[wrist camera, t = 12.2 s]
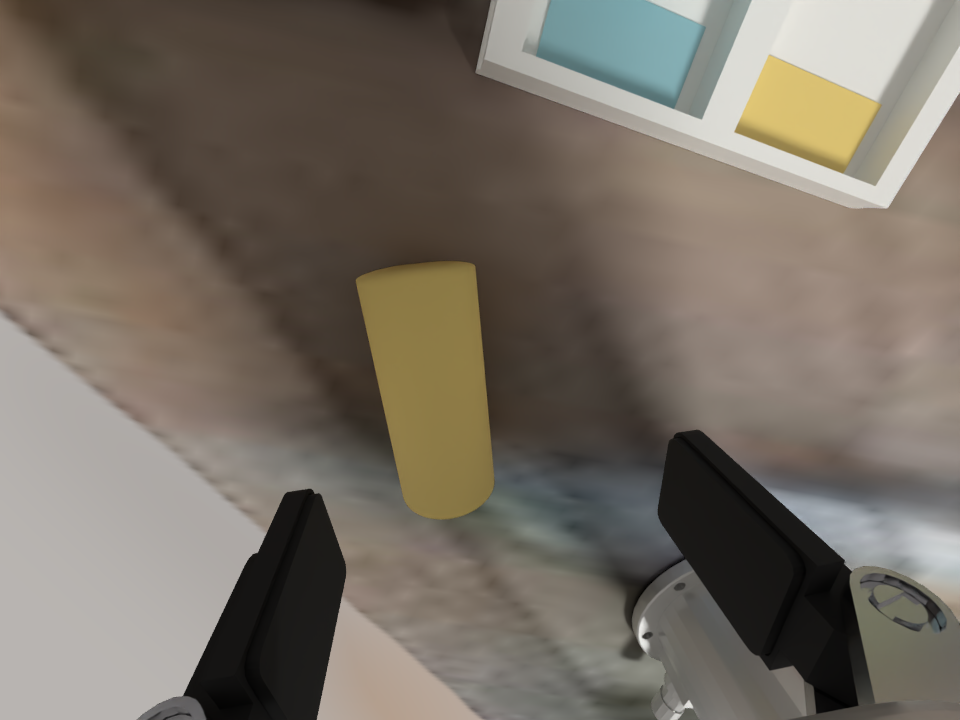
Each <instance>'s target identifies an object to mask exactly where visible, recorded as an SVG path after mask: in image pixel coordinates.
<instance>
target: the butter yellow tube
mask: <svg viewBox="0 0 960 720" xmlns="http://www.w3.org/2000/svg"><path fill="white" fill-rule="evenodd" d="M356 285H357V289H358V294H359V298H360V303H361V308H362V312H363V317H364V321H365V326H366V330H367V335H368V339H369V344H370V348H371V353H372V357H373V362H374V367H375V371H376V376H377V380H378V385H379V389H380V394H381V398H382V403H383V407H384V412H385V416H386V421H387V425H388V430H389V435H390V439H391V444H392V448H393V453H394V457H395V462H396V466H397V471H398V475H399V480H400V484H401V489H402V494H403V498H404V501H405V503H406V504H407V506H408V507H409V508H410V509H411V510H412V511H413V512H415V513H417V514H418V515H421V516H423V517H427V518H431V519H451V518H456V517H460V516H463V515H466V514H468V513H470V512H472V511H474V510H476V509H477V508H478V507H480V506H481V505H482V504H483V503H484V502H485V501H486V500H487V499H488V498H489V496H490V495H491V493H492V491H493V488H494V470H493V458H492V447H491V436H490V425H489V414H488V403H487V391H486V380H485V369H484V358H483V347H482V336H481V324H480V313H479V302H478V291H477V280H476V268H475V265H473V264H471V263H467V262H460V261H434V262H425V263H415V264H405V265H398V266H392V267H388V268H383V269H379V270H375V271H372V272H369V273H366V274H364V275H361V276H360V277H358V278H357V279H356Z"/></svg>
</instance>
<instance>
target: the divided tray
mask: <svg viewBox="0 0 960 720" xmlns="http://www.w3.org/2000/svg"><path fill="white" fill-rule="evenodd" d="M475 73H477V74H479V75H482V76H485V77H488V78H491V79H493V80H496V81H499V82H502V83H504V84H507V85H510V86H513V87H515V88H518V89H521V90H524V91H527V92H529V93H532V94H535V95H538V96H540V97H543V98H546V99H549V100H552V101H554V102H557V103H560V104H563V105H565V106H568V107H571V108H574V109H576V110H579V111H582V112H585V113H588V114H590V115H593V116H596V117H599V118H601V119H604V120H607V121H610V122H612V123H615V124H618V125H621V126H624V127H626V128H629V129H632V130H635V131H637V132H640V133H643V134H646V135H649V136H651V137H654V138H657V139H660V140H662V141H665V142H668V143H671V144H673V145H676V146H679V147H682V148H685V149H687V150H690V151H693V152H696V153H698V154H701V155H704V156H707V157H709V158H712V159H715V160H718V161H721V162H723V163H726V164H729V165H732V166H734V167H737V168H740V169H743V170H746V171H748V172H751V173H754V174H757V175H759V176H762V177H765V178H768V179H770V180H773V181H776V182H779V183H782V184H784V185H787V186H790V187H793V188H795V189H798V190H801V191H804V192H806V193H809V194H812V195H815V196H818V197H820V198H823V199H826V200H829V201H831V202H834V203H837V204H840V205H843V206H845V207H848V208H888V207H889V205H890V203H891V202H892V200H893V199H894V197H895V195H896V194H897V192H898V190H899V189H900V187H901V186H902V184H903V182H904V181H905V179H906V178H907V176H908V174H909V173H910V171H911V170H912V168H913V166H914V165H915V163H916V162H917V160H918V158H919V157H920V155H921V153H922V152H923V150H924V149H925V147H926V145H927V144H928V142H929V141H930V139H931V137H932V136H933V134H934V133H935V131H936V129H937V128H938V126H939V125H940V123H941V121H942V120H943V118H944V117H945V115H946V113H947V112H948V110H949V108H950V107H951V105H952V104H953V102H954V100H955V99H956V97H957V96H958V94H959V92H960V0H491V3H490V7H489V12H488V17H487V21H486V26H485V30H484V35H483V40H482V44H481V49H480V53H479V58H478V63H477V67H476V72H475Z"/></svg>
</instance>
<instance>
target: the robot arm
mask: <svg viewBox="0 0 960 720" xmlns="http://www.w3.org/2000/svg"><path fill="white" fill-rule="evenodd" d="M658 516H659V519H660V522H661V524H662V525H663V527H664V528H665V529H666V531H667V532H668V534H669V535H670V537H671V538H672V540H673V541H674V543H675V544H676V545H677V547H678V548H679V550H680V551H681V553H682V554H683V556H684V557H685V558H686V559H685V560H683V561H682V562H680V563H678V564H676V565H674V566H673V567H671V568H669V569H668V570H667V571H665V572H664V573H663V574H661V575H660V576H659V577H657V578H656V579H655V580H654V581H653V582H652V583H651V584H650V585H649V586H648V587H647V588H646V590H645V591H644V592H643V594H642V595H641V596H640V598H639V600H638V602H637V604H636V606H635V608H634V611H633V616H632V628H633V631H634V633H635V636H636V638H637V640H638V643H639V645H640V646H641V648H642V649H643V651H644V652H645V653H647V654H648V655H649V656H650V657H652V658H654V659H656V660H659V661H661V662H662V663H663V665H664V667H665V670H666V673H665V677H664V681H665V685H663V686H662V687H661V688H660V689H659V691H658V692H657V694H656V695H655V696H654V698H653V699H652V701H651V708H652V711H653V713H654V715H655V716H656V718H657V719H658V720H678V719H679V717H680V716H681V715H682V714H683V712H684V709H685V708H692V709H693V710H695V712H696V714H697V716H698V718H699V720H960V623H959V622H958V620H957V619H956V617H955V616H954V614H953V612H952V611H951V609H950V608H949V607H948V606H947V605H946V604H945V603H944V602H943V601H942V600H941V599H940V598H939V597H938V596H936V595H935V594H934V593H932V592H931V591H930V590H928V589H927V588H926V587H924V586H923V585H921V584H919V583H917V582H916V581H914V580H912V579H910V578H909V577H907V576H904V575H902V574H899V573H897V572H894V571H892V570H888V569H884V568H880V567H873V566H863V567H860V568H856V569H854V571H853V572H852V571H851V570H850V569H849V568H848V567H847V566H846V565H844V562H845V560H844V559H843V558H841V557H840V556H839V555H838V554H837V553H836V552H835V551H834V550H833V549H832V548H830V547H829V546H828V545H827V544H826V543H825V542H824V541H823V540H822V539H820V538H819V537H818V536H817V535H816V534H815V533H814V532H813V531H812V530H810V529H809V528H808V527H807V526H806V525H805V524H804V523H803V522H802V521H800V520H799V519H798V518H797V517H796V516H795V515H794V514H793V513H792V512H791V511H789V510H788V509H787V508H786V507H785V506H784V505H783V504H782V503H781V502H779V501H778V500H777V499H776V498H775V497H774V496H773V495H772V494H771V493H769V492H768V491H767V490H766V489H765V488H764V487H763V486H762V485H761V484H759V483H758V482H757V481H756V480H755V479H754V478H753V477H752V476H751V475H750V474H748V473H747V472H746V471H745V470H744V469H743V468H742V467H741V466H740V465H738V464H737V463H736V462H735V461H734V460H733V459H732V458H731V457H730V456H728V455H727V454H726V453H725V452H724V451H723V450H722V449H721V448H720V447H718V446H717V445H716V444H715V443H714V442H713V441H712V440H711V439H710V438H709V437H707V436H706V435H705V434H704V433H703V432H701V431H700V430H693V431H686V432H679V433H676V434H675V435H674V438H673V439H671V440H670V441H669V444H668V450H667V456H666V462H665V468H664V474H663V480H662V486H661V492H660V498H659V504H658ZM345 578H346V564H345V561H344V558H343V555H342V552H341V549H340V547H339V544H338V541H337V538H336V535H335V532H334V530H333V527H332V524H331V521H330V518H329V516H328V513H327V510H326V507H325V504H324V501H323V499H322V496H321V494H319V493H318V494H314V492H313V490H312V489H305V490H299V491H292V492H287V493H286V494H285V495H284V497H283V499H282V501H281V503H280V505H279V508H278V510H277V512H276V514H275V516H274V519H273V521H272V523H271V525H270V527H269V530H268V532H267V534H266V536H265V538H264V541H263V543H262V545H261V547H260V549H259V552H258V553H255V554H253V555H252V556H251V557H250V558H249V560H248V561H247V563H246V565H245V566H244V569H243V571H242V573H241V575H240V577H239V579H238V581H237V583H236V585H235V588H234V589H233V592H232V594H231V596H230V598H229V600H228V602H227V604H226V606H225V609H224V611H223V613H222V615H221V617H220V619H219V621H218V623H217V625H216V627H215V630H214V632H213V634H212V636H211V638H210V640H209V642H208V644H207V646H206V649H205V651H204V653H203V655H202V657H201V659H200V661H199V663H198V666H197V668H196V670H195V672H194V674H193V676H192V678H191V680H190V682H189V684H188V686H187V689H186V691H185V693H184V695H183V696H182V697H173V698H171V699H169V700H166V701H164V702H162V703H159V704H157V705H156V706H155V707H153V708H151V709H150V710H148V711H147V712H145V713H144V714H142V715H141V716H140V717H139V718H138V719H137V720H317V715H318V711H319V705H320V701H321V696H322V691H323V686H324V681H325V676H326V671H327V666H328V661H329V657H330V652H331V647H332V642H333V637H334V632H335V627H336V622H337V617H338V613H339V608H340V603H341V598H342V593H343V588H344V583H345Z"/></svg>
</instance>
